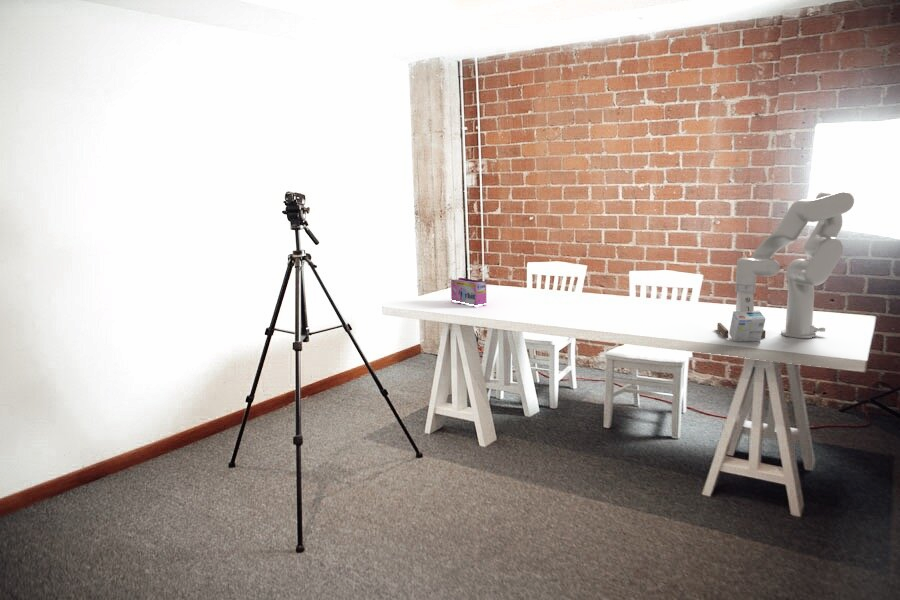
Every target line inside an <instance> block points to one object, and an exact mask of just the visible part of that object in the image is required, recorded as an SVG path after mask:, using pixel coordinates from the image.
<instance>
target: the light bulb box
mask: <svg viewBox="0 0 900 600" xmlns="http://www.w3.org/2000/svg"><path fill="white" fill-rule="evenodd" d="M765 323H766V317H765V316H764V315H763V314H762V313H761V311H760V310H754V311H736V310H734V311H733V312H732V316H731V321H730V327H729V331H728V335H729V336H730V338H731V339H732V341H733V342H734V343H735V342H737V343H738V342H740V343H741V342H760V341H761V340H762V338H761V336H762V332H763V329H764V328H765Z"/></svg>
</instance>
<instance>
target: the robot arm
mask: <svg viewBox="0 0 900 600" xmlns="http://www.w3.org/2000/svg"><path fill="white" fill-rule="evenodd" d="M854 203H855V199H854V196H853V195H852V193H850V192H848V191H845V190H823V191H821V192H819V193H818V194H817V196H816V197H815V198H814V199H799V200H796V201H794V202H793V203H792V204H791V206H790V207H789V209H788V210H787V212H786V214H785V215H784V217H783V218H782V220H781V221H780V223H779V225H778V226H777V227H776V228H775V230H774V231H773V232H772V233H771V234H770V235H769V236H767V238H765V239H764V240H763V241H762V242H761V243H760V244H759V245H758V247H756V249H755V251H754V252H753V254H752V255H751V257H739V258H738V259H737V261H736V272H735V285H734V289H735V290H734V292H735V293H736V294H737V295H736V302H735V311H755V310H754V307H755V306H754V305H755V304H754V303H755V301H754V300H755V297H754V294H755V293H756V289H757V288H756V285H757V277H767V278H769V277H773V276H776V275H777V274H779V272H780V270H781V265H780V263H779V262H778V261H777V260H776V259H775V258H773V256H774V255H775V254H776V253H777V252H778V251H780V250H781V249H782V248H785V247H787V246H789V245H791V244H793V243H795V242H796V241H797V239H798V238H799V236H800V235H801V233H802V231H804V228H806V226H807V224H808V223H809V222H811V223H814V222H817V224H816V225H815V227H814V229H813V231H812V232H811V234H810V235H809V236H808V238H807V240H806V242H805V244H804V246H803V252H804V254H805V255H806V256H808V257H809V258H811V259H808V258H796V259H793V260H792V261H791V262H789V264H788V266H787V268H786V280H787V300H786V301H787V302H786V318H785V320H786V321H785V329H782V330H781V332H780V334H781V335H783V336H784V337H787V338H792V339H793V338H794V339H795V338H796V339H812V337H813V338H815V337H816V336H817V332H823V333H824V332H826V326H819V325H818V326H817V325H814V324H813V318H814V302H815V286H820V285H822V284H824V283H825V282H826V281H827V279H828V278H829V277H830V275H831V274H832V273H833V270H834V269H835V267H836V265H837V264H838V263H839V262H840V259H841V257H842V255H843V251H844V245H843V243H842V241H841V240H840V239H839V238H837V237H838V235H839V234H840V231H841V229H842V227H843V216H842V214H844V213H848V212H849V211H850V210H851V209H852V208H853V206H854Z"/></svg>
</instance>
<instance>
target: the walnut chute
mask: <svg viewBox="0 0 900 600" xmlns="http://www.w3.org/2000/svg"><path fill="white" fill-rule="evenodd" d="M716 330H717V331H718V332H719V334H721V335H722V336H723V337H724V338H725V339H728V338H729V330H728V329H727V328H726V326H725V325H723V323H721V322H717V329H716ZM761 339H766V330H765V329H764V328H763V332H762V336H761Z"/></svg>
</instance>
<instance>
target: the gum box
mask: <svg viewBox="0 0 900 600" xmlns="http://www.w3.org/2000/svg"><path fill="white" fill-rule="evenodd" d="M450 288H451V290H450V291H451V293H450V295H451V299H452V300H456V301H460V302H465V303H469V304H474V305H478V304H484V303H487V281H485V280H477V279H471V278H465V277H464V278H463V277H458V278H457V279H452V278H450ZM452 300H451V301H452Z"/></svg>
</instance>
